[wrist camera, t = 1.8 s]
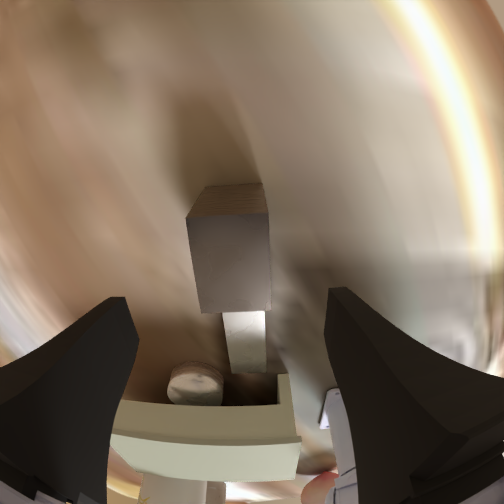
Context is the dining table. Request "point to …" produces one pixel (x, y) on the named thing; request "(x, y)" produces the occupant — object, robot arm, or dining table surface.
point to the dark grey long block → (234, 267)
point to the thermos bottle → (215, 492)
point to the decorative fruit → (318, 488)
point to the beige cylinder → (171, 490)
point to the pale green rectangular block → (210, 439)
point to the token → (195, 385)
